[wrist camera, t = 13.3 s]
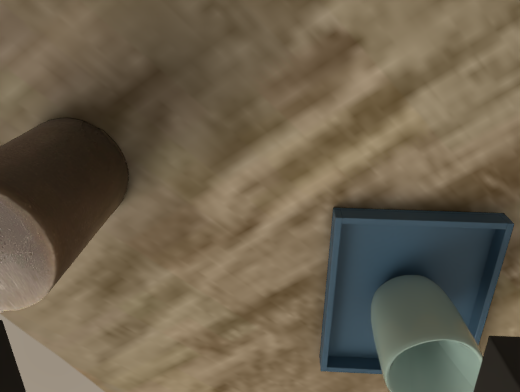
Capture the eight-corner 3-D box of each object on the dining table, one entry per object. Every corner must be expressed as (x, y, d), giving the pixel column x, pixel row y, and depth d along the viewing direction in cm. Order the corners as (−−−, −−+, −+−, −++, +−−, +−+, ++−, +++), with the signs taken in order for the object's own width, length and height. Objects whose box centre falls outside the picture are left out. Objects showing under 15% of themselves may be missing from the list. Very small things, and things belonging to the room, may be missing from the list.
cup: (452, 313, 43) (496, 398, 34) (376, 334, 45) (399, 420, 36) (433, 251, 40) (476, 326, 31) (352, 276, 42) (371, 353, 33)
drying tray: (503, 212, 39) (514, 223, 37) (461, 363, 46) (468, 378, 44) (333, 207, 39) (335, 217, 37) (319, 356, 47) (320, 371, 45)
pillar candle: (118, 115, 37) (21, 186, 23) (137, 217, 41) (63, 328, 27) (9, 118, 37) (-149, 189, 24) (38, 218, 41) (-83, 327, 28)
